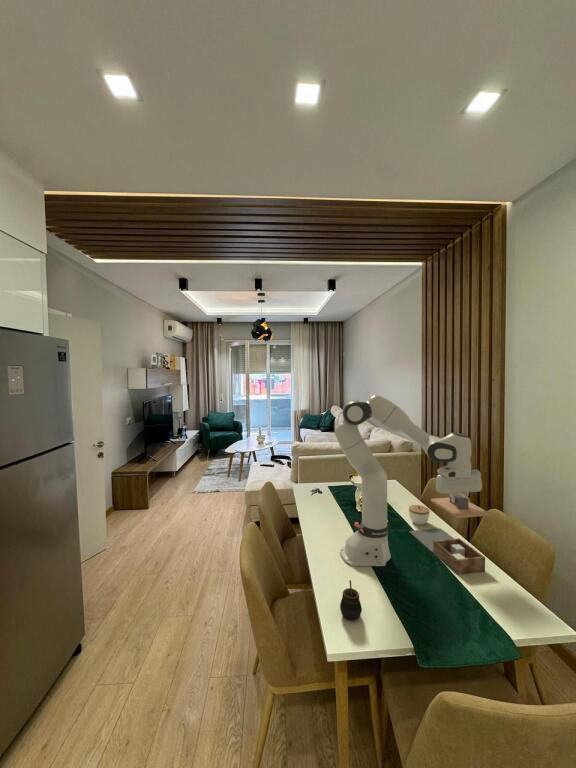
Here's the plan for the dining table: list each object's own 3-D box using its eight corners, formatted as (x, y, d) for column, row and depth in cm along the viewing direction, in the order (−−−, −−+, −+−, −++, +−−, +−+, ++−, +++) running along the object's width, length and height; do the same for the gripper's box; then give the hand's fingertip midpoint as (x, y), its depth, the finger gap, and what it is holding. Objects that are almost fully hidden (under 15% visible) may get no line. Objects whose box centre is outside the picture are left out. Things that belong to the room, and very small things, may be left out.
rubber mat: (432, 552, 152) (432, 551, 152) (409, 531, 171) (409, 531, 171) (467, 548, 155) (467, 548, 155) (440, 529, 174) (440, 528, 174)
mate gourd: (342, 624, 108) (342, 594, 108) (338, 608, 116) (337, 580, 116) (364, 623, 109) (364, 593, 109) (358, 607, 116) (357, 579, 116)
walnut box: (456, 574, 135) (457, 560, 135) (433, 553, 151) (433, 540, 150) (484, 571, 137) (485, 557, 137) (458, 551, 153) (459, 538, 153)
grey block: (456, 558, 145) (456, 549, 145) (450, 553, 149) (450, 544, 149) (464, 557, 146) (464, 548, 146) (458, 552, 150) (458, 544, 150)
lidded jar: (424, 518, 187) (425, 502, 187) (432, 527, 176) (432, 509, 176) (405, 518, 187) (406, 501, 187) (412, 526, 177) (412, 509, 176)
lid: (457, 518, 133) (457, 506, 133) (430, 501, 151) (430, 490, 150) (489, 515, 135) (490, 503, 135) (460, 498, 153) (460, 488, 153)
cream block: (457, 568, 138) (457, 559, 137) (451, 563, 142) (451, 554, 141) (465, 567, 138) (465, 558, 138) (459, 562, 142) (459, 553, 142)
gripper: (475, 467, 147) (474, 497, 148) (433, 469, 144) (433, 500, 144) (486, 471, 141) (485, 503, 141) (442, 473, 138) (442, 506, 138)
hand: (458, 501), depth 143 cm, fingers closed on lid, 3 cm apart
